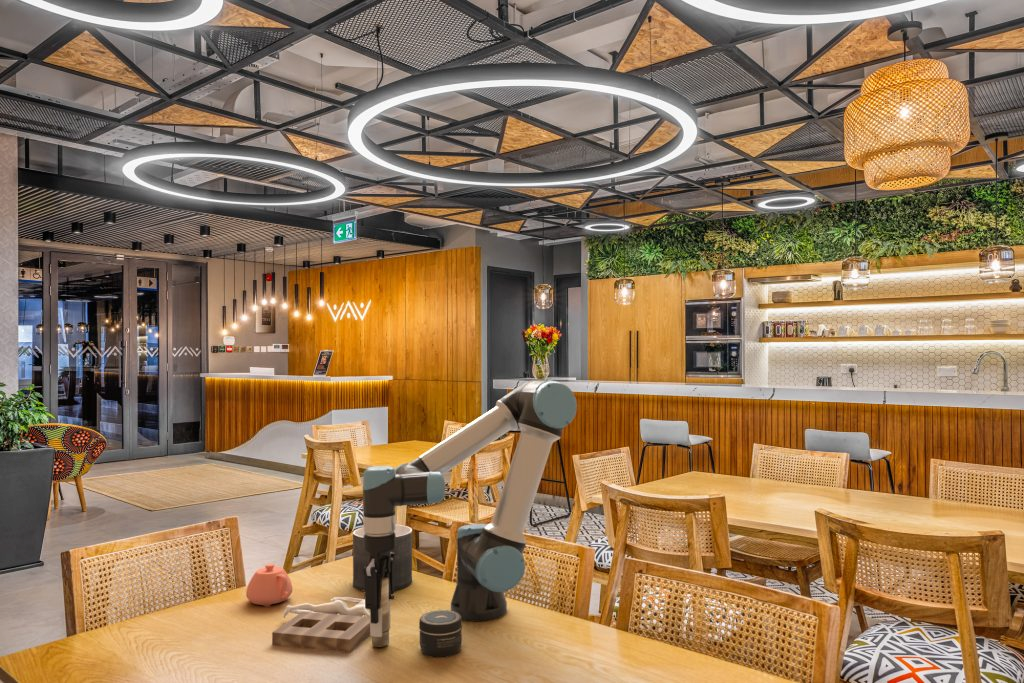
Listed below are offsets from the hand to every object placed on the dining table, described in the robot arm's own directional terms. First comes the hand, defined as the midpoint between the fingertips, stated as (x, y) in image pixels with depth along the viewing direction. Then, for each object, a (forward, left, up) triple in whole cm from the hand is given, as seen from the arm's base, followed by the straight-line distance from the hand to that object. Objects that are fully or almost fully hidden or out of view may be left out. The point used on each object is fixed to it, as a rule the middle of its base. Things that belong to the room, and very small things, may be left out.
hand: (380, 631), depth 164 cm
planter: (+18, -44, -4) cm, 48 cm away
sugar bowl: (+42, -22, -4) cm, 48 cm away
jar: (-15, -1, -4) cm, 15 cm away
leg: (0, 0, -3) cm, 3 cm away
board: (+15, -2, -3) cm, 16 cm away
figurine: (+19, -12, -4) cm, 23 cm away
